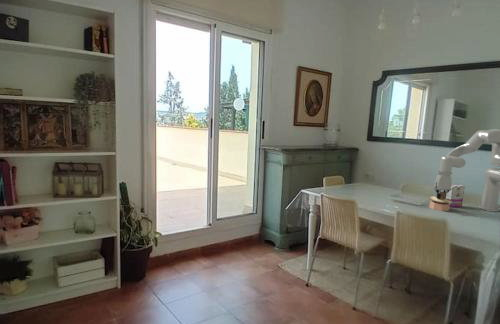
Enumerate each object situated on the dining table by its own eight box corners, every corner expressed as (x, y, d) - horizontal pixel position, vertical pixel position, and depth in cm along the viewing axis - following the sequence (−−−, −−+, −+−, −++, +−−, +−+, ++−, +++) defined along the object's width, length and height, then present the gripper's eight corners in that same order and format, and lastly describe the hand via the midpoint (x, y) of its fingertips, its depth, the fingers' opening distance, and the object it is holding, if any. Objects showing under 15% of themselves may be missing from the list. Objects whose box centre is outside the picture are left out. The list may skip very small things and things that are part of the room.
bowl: (441, 206, 240) (442, 200, 239) (452, 211, 228) (453, 204, 228) (426, 206, 239) (427, 199, 239) (436, 211, 228) (437, 204, 227)
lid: (443, 198, 240) (444, 190, 239) (456, 203, 226) (457, 195, 225) (425, 197, 239) (426, 189, 238) (437, 202, 225) (438, 194, 224)
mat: (466, 212, 230) (466, 211, 230) (477, 217, 219) (478, 216, 219) (451, 211, 229) (451, 210, 229) (462, 216, 218) (462, 215, 218)
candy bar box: (456, 205, 246) (459, 184, 244) (461, 207, 242) (465, 186, 239) (444, 205, 243) (447, 184, 241) (450, 207, 239) (453, 186, 236)
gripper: (451, 173, 234) (448, 197, 237) (430, 172, 233) (426, 196, 236) (459, 175, 227) (455, 200, 230) (437, 174, 226) (433, 199, 228)
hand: (440, 198), depth 233 cm, fingers closed on lid, 3 cm apart
